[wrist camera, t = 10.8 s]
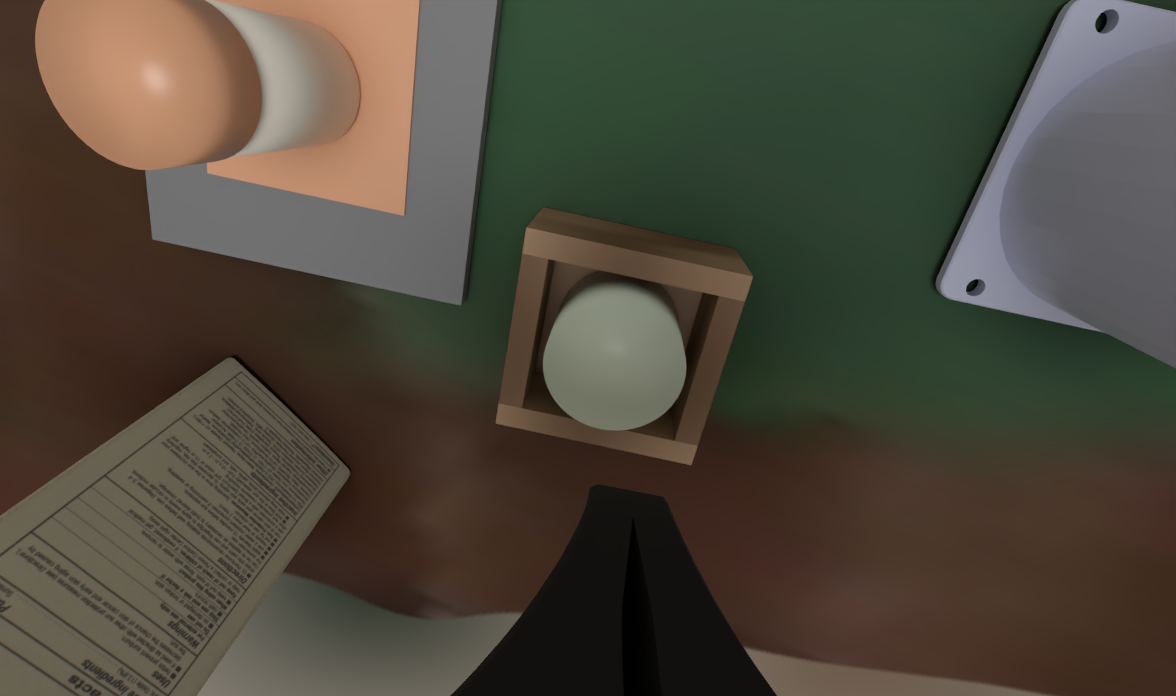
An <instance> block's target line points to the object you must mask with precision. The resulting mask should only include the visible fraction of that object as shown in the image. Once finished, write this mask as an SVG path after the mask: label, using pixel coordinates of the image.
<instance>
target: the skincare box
mask: <svg viewBox="0 0 1176 696" xmlns="http://www.w3.org/2000/svg"><path fill="white" fill-rule="evenodd" d="M349 476H350V470H349V469H348V468H347V466H345V465H344V464H343V463H342V462H341V461H340V459H339V458H338V457H337V456H336V455H335V454H334V453H333V452H332V451H331V450H330V449H329V448H328V447H327V446H326V445H325V444H324V443H323V442H322V441H321V440H320V439H319V438H318V437H317V436H316V435H315V434H313V433H312V432H311V431H310V430H309V429H308V428H307V427H306V426H305V425H304V424H303V423H302V422H301V421H300V420H299V419H298V418H297V417H296V416H295V415H294V414H293V413H292V412H291V411H290V410H289V409H288V408H287V407H286V406H285V405H284V404H282V403H281V402H280V401H279V400H278V399H277V398H276V397H275V396H274V395H273V394H272V393H271V392H270V391H269V390H268V389H267V388H266V387H264V386H263V385H262V384H261V383H260V382H259V381H258V380H257V379H256V378H255V377H254V376H253V375H251V374H250V373H249V372H248V371H247V370H246V369H245V368H244V367H243V366H242V365H241V364H240V363H239V362H237V361H236V360H235V359H234V358H231V357H230V358H227V359H226V360H224V361H223V362H221V363H220V364H218V365H217V366H215V367H214V368H212V369H211V370H209V371H208V372H207V373H205V374H204V375H202V376H201V377H199V378H198V379H196V380H195V381H194V382H192V383H191V384H189V385H188V386H186V387H185V388H183V389H182V390H181V391H179V392H178V393H176V394H175V395H173V396H172V397H170V398H169V399H167V400H166V401H165V402H163V403H162V404H160V405H159V406H157V407H156V408H155V409H153V410H152V411H150V412H149V413H147V414H146V415H144V416H143V417H142V418H140V419H139V420H137V421H136V422H134V423H133V424H131V425H130V426H129V427H127V428H126V429H124V430H123V431H121V432H120V433H118V434H117V435H116V436H114V437H113V438H111V439H110V440H108V441H107V442H105V443H104V444H103V445H101V446H100V447H98V448H97V449H95V450H94V451H92V452H91V453H90V454H88V455H87V456H85V457H84V458H82V459H81V460H79V461H78V462H77V463H75V464H74V465H72V466H71V467H69V468H68V469H67V470H65V471H64V472H62V473H61V474H59V475H58V476H57V477H55V478H54V479H52V480H51V481H49V482H48V483H47V484H45V485H44V486H42V487H41V488H39V489H38V490H37V491H35V492H34V493H32V494H31V495H29V496H28V497H27V498H25V499H24V500H22V501H21V502H19V503H18V504H17V505H15V506H14V507H12V508H11V509H9V510H8V511H7V512H5V513H4V514H2V515H1V516H0V696H196V695H197V694H198V693H199V691H200V690H201V688H202V687H203V686H204V684H205V683H206V681H207V680H208V678H209V677H210V675H211V674H212V673H213V671H214V670H215V668H216V667H217V665H218V664H219V662H220V661H221V660H222V658H223V657H224V655H225V654H226V652H227V651H228V649H229V648H230V646H231V645H232V644H233V642H234V641H235V639H236V638H237V637H238V635H239V634H240V632H241V631H242V629H243V628H244V627H245V625H246V624H247V622H248V621H249V619H250V618H251V616H252V615H253V614H254V612H255V611H256V610H257V608H258V607H259V605H260V604H261V603H262V601H263V600H264V598H265V597H266V595H267V594H268V592H269V591H270V589H271V588H272V587H273V585H274V584H275V582H276V581H277V579H278V578H279V576H280V575H281V574H282V572H283V571H284V569H285V568H286V566H287V565H288V563H289V562H290V561H291V559H292V558H293V556H294V555H295V553H296V552H297V551H298V549H299V548H300V546H301V545H302V544H303V542H304V541H305V539H306V538H307V537H308V535H309V534H310V532H311V531H312V529H313V528H314V527H315V525H316V524H317V522H318V521H319V519H320V518H321V516H322V515H323V513H324V512H325V510H326V509H327V508H328V506H329V505H330V503H331V502H332V500H333V499H334V498H335V496H336V495H337V493H338V492H339V490H340V489H341V487H342V486H343V485H344V483H345V482H346V481H347V479H348V478H349Z"/></svg>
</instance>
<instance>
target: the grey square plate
mask: <svg viewBox="0 0 1176 696" xmlns="http://www.w3.org/2000/svg"><path fill="white" fill-rule="evenodd" d="M214 1H219V2H223V3H228V4H232V5H237V6H241V7H246V8H250V9H255V10H259V11H264V12H268V13H273V14H277V15H282V16H286V17H291V18H295V19H300V20H304V21H308V22H311V23H314V24H316V25H318V26H320V27H322V28H323V29H325V30H326V31H328V32H329V33H330V34H331V35H332V36H334V37H335V38H336V39H337V40H338V41H339V43H340V44H341V45H342V46H343V48H344V49H345V50H346V52H347V54H348V55H349V57H350V59H351V61H352V63H353V65H354V68H355V71H356V74H357V78H358V82H359V91H360V99H359V107H358V111H357V115H356V117H355V120H354V122H353V123H352V125H351V127H350V128H349V129H348V131H347V132H346V133H345V134H344V135H343V136H342V137H340V138H339V139H337V140H336V141H334V142H331V143H329V144H325V145H320V146H312V147H304V148H297V149H289V150H281V151H274V152H266V153H258V154H251V155H243V156H236V157H229V158H227V159H224V160H221V161H216V162H209V163H202V164H194V165H187V166H180V167H172V168H165V169H157V170H145V172H146V182H147V191H148V201H149V210H150V220H151V229H152V239H153V240H158V241H163V242H167V243H172V244H177V245H181V246H186V247H191V248H195V249H200V250H205V251H209V252H214V253H218V254H223V255H228V256H232V257H237V258H242V259H246V260H251V261H256V262H260V263H265V264H270V265H274V266H279V267H283V268H288V269H293V270H297V271H302V272H307V273H311V274H316V275H321V276H325V277H330V278H335V279H339V280H344V281H349V282H353V283H358V284H362V285H367V286H372V287H376V288H381V289H386V290H390V291H395V292H400V293H404V294H409V295H414V296H418V297H423V298H427V299H432V300H437V301H441V302H446V303H451V304H455V305H460V306H461V305H462V304H463V303H464V302H465V301H466V297H467V289H468V280H469V272H470V264H471V256H472V247H473V239H474V231H475V223H476V215H477V206H478V198H479V190H480V182H481V173H482V165H483V157H484V149H485V140H486V132H487V124H488V116H489V108H490V99H491V91H492V83H493V75H494V66H495V58H496V50H497V42H498V34H499V25H500V17H501V9H502V1H503V0H214Z"/></svg>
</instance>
